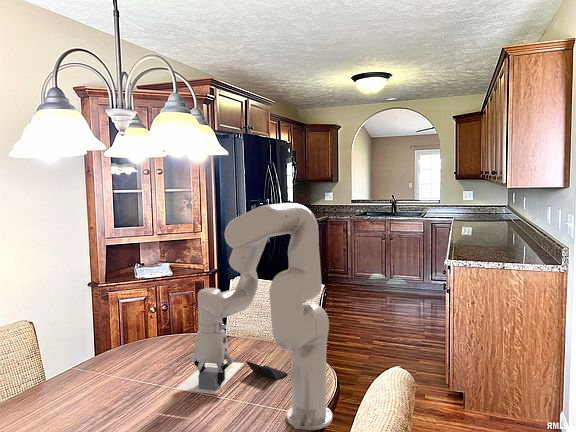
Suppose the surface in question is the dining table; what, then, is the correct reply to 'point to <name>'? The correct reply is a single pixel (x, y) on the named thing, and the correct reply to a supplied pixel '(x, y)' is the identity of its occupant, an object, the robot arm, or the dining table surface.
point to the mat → (193, 380)
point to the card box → (209, 378)
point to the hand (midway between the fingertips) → (212, 381)
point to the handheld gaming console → (267, 371)
